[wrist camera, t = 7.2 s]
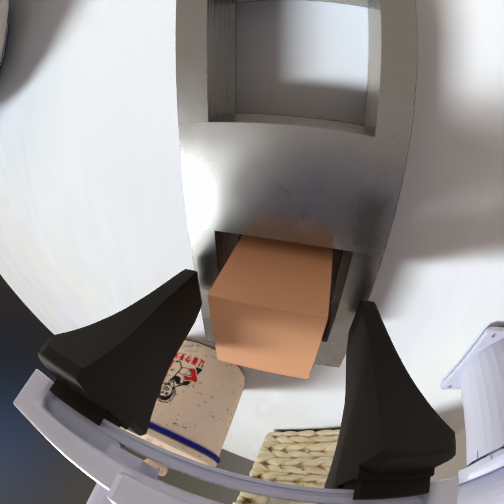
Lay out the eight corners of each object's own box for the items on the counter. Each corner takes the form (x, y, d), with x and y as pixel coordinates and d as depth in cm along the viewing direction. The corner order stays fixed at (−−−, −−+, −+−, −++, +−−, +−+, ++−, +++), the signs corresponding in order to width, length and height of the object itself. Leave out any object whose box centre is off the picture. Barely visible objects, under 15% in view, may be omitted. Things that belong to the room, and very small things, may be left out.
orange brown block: (333, 226, 13) (328, 317, 8) (321, 288, 15) (308, 379, 10) (254, 215, 14) (207, 294, 9) (253, 276, 16) (217, 359, 11)
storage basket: (397, 458, 32) (387, 529, 20) (315, 464, 40) (298, 527, 28) (377, 417, 23) (359, 540, 11) (253, 424, 31) (219, 519, 19)
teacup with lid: (206, 328, 20) (138, 463, 11) (267, 388, 23) (230, 500, 14) (130, 343, 26) (76, 427, 17) (184, 390, 29) (145, 469, 20)
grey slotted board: (211, -30, 7) (180, -51, 4) (392, -25, 5) (407, -51, 3) (223, 307, 18) (206, 340, 16) (341, 329, 16) (339, 367, 14)
